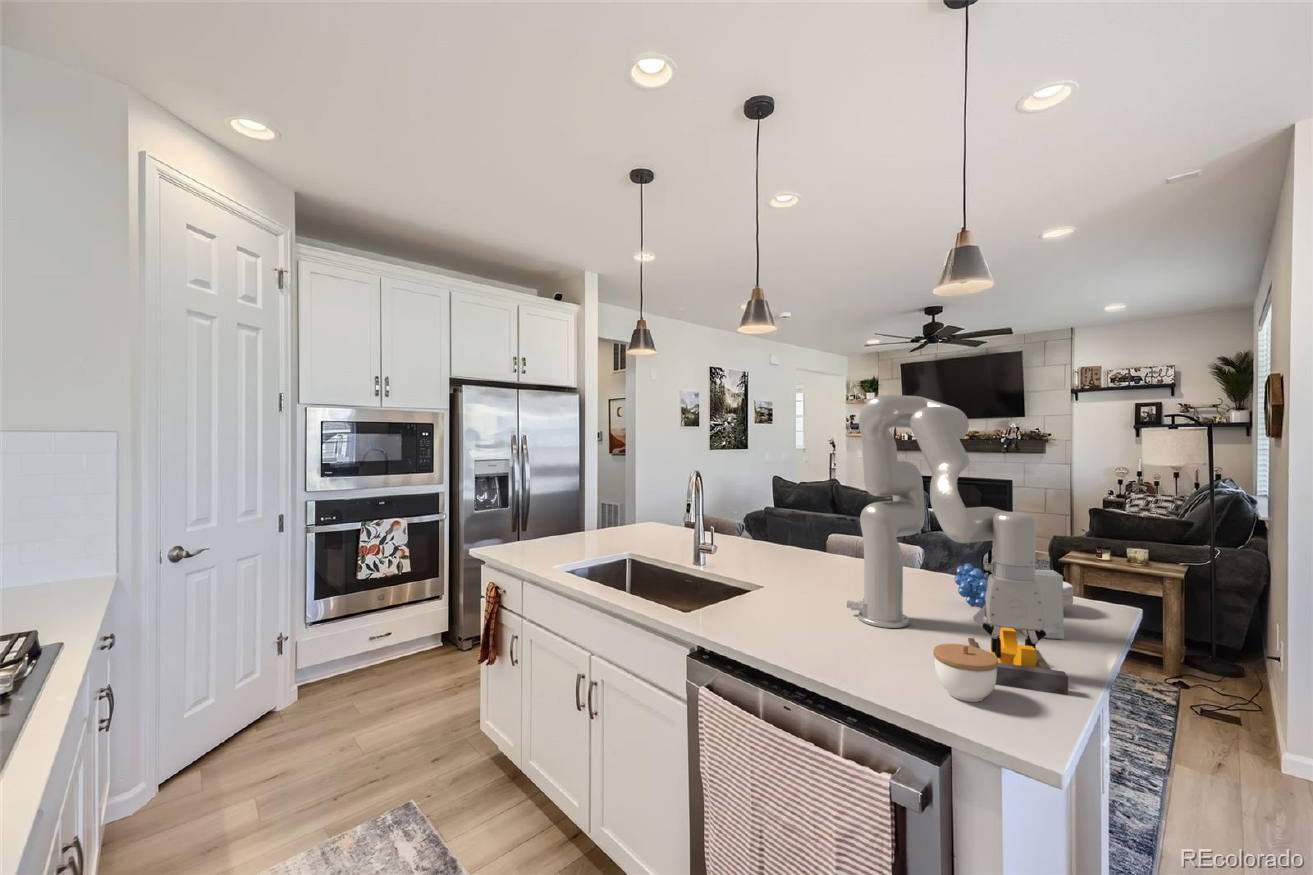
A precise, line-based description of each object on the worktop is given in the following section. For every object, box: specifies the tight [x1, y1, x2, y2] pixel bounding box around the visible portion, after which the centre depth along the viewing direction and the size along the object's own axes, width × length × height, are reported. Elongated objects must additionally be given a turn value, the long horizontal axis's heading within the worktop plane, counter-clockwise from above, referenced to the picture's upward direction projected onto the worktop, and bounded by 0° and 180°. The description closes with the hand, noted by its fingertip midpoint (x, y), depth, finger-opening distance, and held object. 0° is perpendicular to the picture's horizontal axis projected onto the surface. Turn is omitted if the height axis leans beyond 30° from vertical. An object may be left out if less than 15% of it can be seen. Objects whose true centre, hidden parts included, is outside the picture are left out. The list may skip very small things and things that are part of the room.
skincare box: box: [1019, 568, 1065, 640], centre depth 136 cm, size 8×7×16 cm
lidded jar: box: [933, 643, 998, 703], centre depth 105 cm, size 11×11×9 cm
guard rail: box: [967, 637, 1069, 696], centre depth 118 cm, size 14×24×4 cm, turn 157°
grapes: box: [954, 563, 988, 609], centre depth 159 cm, size 12×7×12 cm, turn 19°
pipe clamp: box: [990, 627, 1037, 668], centre depth 116 cm, size 12×4×6 cm, turn 166°
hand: (1012, 657), depth 116 cm, fingers open, 5 cm apart
